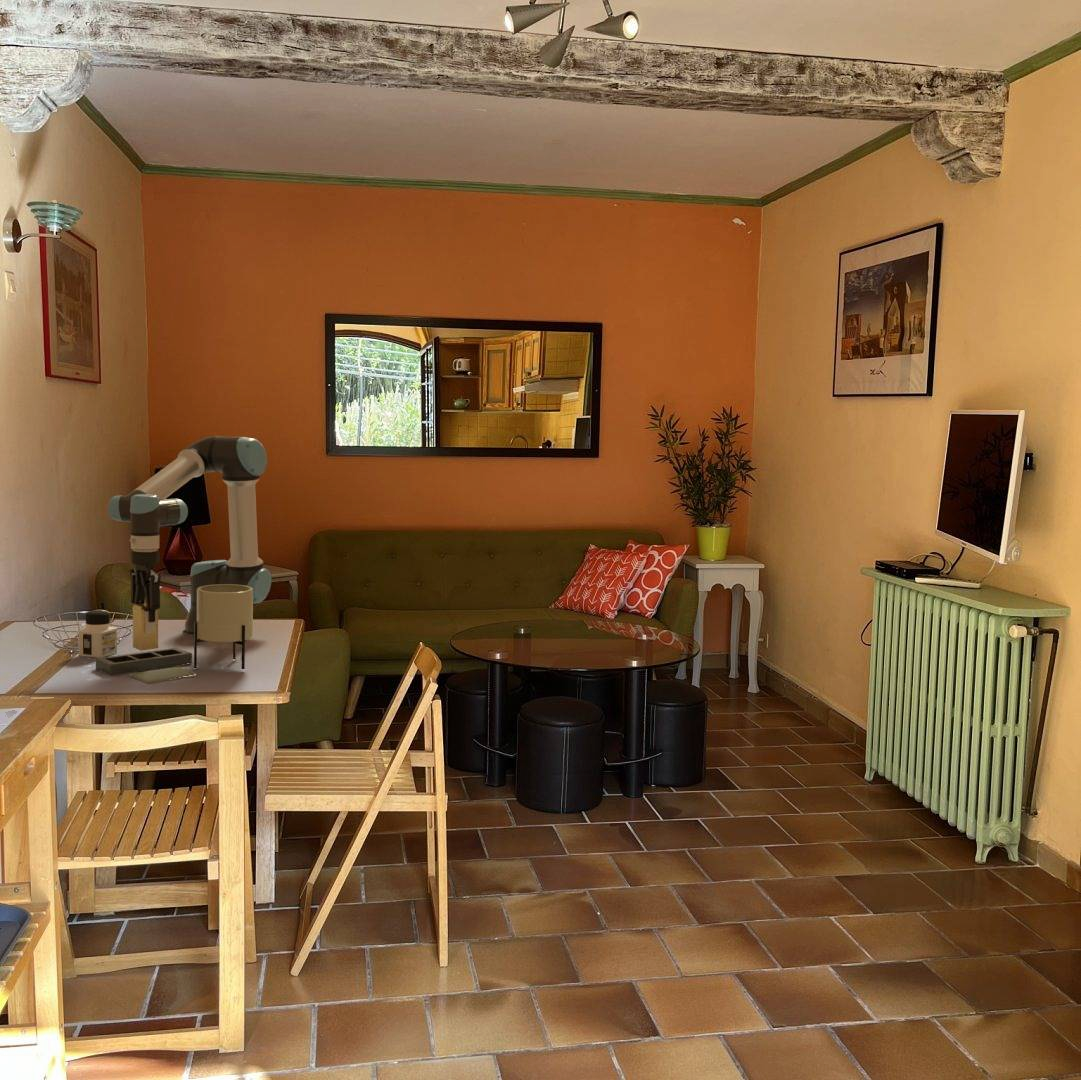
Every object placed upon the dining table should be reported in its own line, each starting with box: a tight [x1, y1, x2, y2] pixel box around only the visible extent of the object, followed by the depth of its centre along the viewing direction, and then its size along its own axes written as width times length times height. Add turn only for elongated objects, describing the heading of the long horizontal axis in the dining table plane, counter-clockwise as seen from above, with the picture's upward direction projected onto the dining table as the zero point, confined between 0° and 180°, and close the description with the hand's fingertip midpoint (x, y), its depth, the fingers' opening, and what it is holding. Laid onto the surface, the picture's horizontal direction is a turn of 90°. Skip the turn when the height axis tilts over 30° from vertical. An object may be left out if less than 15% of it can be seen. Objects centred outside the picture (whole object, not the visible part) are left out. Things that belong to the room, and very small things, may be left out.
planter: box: [193, 584, 254, 670], centre depth 301 cm, size 15×16×23 cm
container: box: [78, 609, 118, 659], centre depth 310 cm, size 8×8×13 cm
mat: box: [130, 666, 197, 684], centre depth 289 cm, size 14×10×1 cm
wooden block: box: [132, 602, 159, 652], centre depth 298 cm, size 5×5×12 cm
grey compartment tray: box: [95, 647, 193, 677], centre depth 299 cm, size 24×9×3 cm, turn 137°
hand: (145, 631), depth 298 cm, fingers closed on wooden block, 5 cm apart
